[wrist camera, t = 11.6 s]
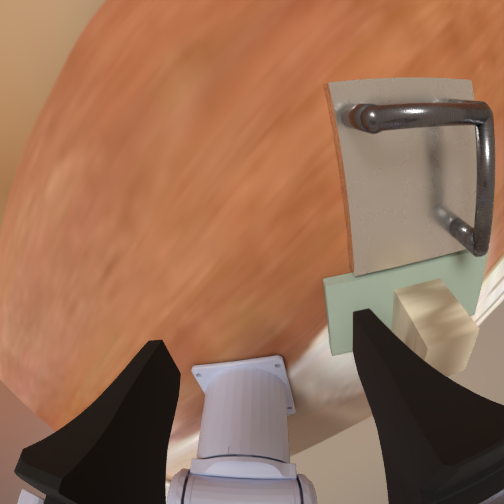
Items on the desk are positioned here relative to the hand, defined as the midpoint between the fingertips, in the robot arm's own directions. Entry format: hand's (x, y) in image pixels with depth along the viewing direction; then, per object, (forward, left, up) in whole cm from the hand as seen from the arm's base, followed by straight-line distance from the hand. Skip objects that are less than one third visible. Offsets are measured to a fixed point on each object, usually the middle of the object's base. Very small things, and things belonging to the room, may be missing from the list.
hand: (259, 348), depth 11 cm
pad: (-7, -11, -9) cm, 16 cm away
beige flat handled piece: (+3, -10, -9) cm, 14 cm away
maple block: (-7, -11, -8) cm, 15 cm away
